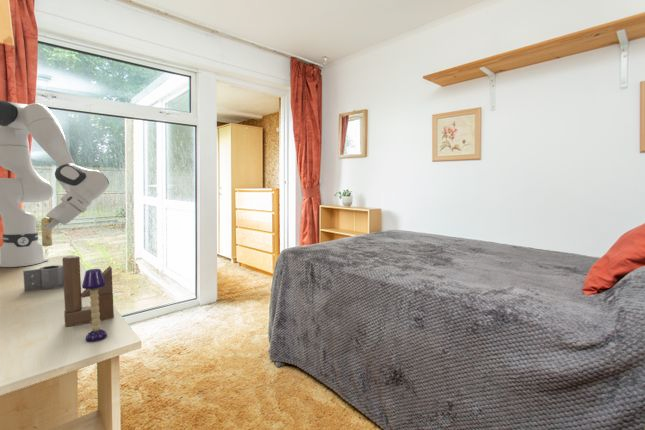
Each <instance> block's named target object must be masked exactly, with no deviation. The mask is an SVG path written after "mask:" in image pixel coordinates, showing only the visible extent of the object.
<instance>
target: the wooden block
mask: <svg viewBox="0 0 645 430" xmlns="http://www.w3.org/2000/svg"><path fill="white" fill-rule="evenodd" d="M80 260H81V258H80V256H79V255H67V256H64V257H62V266H63V280H64V286H63V292H64V293H63V294H64V312H63V313H64V327H72V326H73V327H74V326H78V325H83V324H88V323H92V322H91V321H92V318H91V313H92V312H91V305H88V306H83V303H82V301H83V300H82V299H83V298H90V294H91V293H90V289H84V290H83V292H82V282H81V279H82V278H81V261H80ZM112 270H113V268H112V267H111V265H108V267H106V269H104V271H102V274H103V277H104V279H105V282H106V285H105V286H103V287H99V288H98V294H99V297H98V300H99V304H98V305H99V313H100V317H99V318H100V321H104V320H110V319H114V312H115V309H114V293H113V292H114V290H113V271H112Z"/></svg>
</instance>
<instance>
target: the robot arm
mask: <svg viewBox="0 0 645 430" xmlns="http://www.w3.org/2000/svg"><path fill="white" fill-rule="evenodd" d="M29 135H30V136H31V138H33V140H34V141H35V142H36V143H37V145H39V147H40V148H41V149H43V151H44V152H46V154H47V155H49V157H50V158H51V159H52V160H53V162H54V163H55V164H56V165H57V168H56V169H55V170H54V171H55V172H54V177H55V179H56V181H57V183H59V185H60V186H61V187H62V188H63V190H65V192H66V193H65V194H64V195H63V196H62V197H61V198H59V199H60V201H61V202H60V203H58V204H57V205H56V206H54V207H53V208H52V209H51V210H50V211H49V212H47V214H46V215H45V217H48V218H50V219H51V222H50V223H49V224H48V225H46V226H45V227H44V229H45V230H47V231H49V230H50V229H53V228H54V227H56V226H58V225H59V224H61V225H67V224H69V223H70V222H71V221H73V220H74V219H76V218H77V217H78V216H79V215H81V214H83V213H84V212H86V211H87V209H88V208H89V206H90V205H92V203H93V201H94V200H96V199H98V198H100V197H101V195H103V193H104V192H105V191H106V190H107V189H108V188H109V186H110V181H109V179H108V177H106V175H105V174H104V173H103V172H102V171H100V170H98V169H88V168H85V167H82V166H79V165H77V164H76V163H75V161H74V159H73V158H72V155H71V153H70V150H69V147H68V143H67V140H66V136H65V133H64V131H63V128H62V126H61V124H60V122H59V121H58V119H57V118H56V116H55V115H54V113H52V111H51V110H50V109H49V108H48V107H47V106H46V105H44V104H41V103H36V102H34V103H30V104H26V103H18V102H12V101H8V100H1V99H0V167H2V168H3V169H5V170H7V171H11V172H12V174H14V176H15V178H13V177H0V217H1V222H2V227H3V228H2V229H3V233H2V237H1V238H2V242H3V244H2V245H1V246H0V268H17V267H24V266H25V267H26V266H32V265H38V264H40V263H44V262H48V261H50V260H49V258H48V257H45V254H44V253H45V252H44V246H42V243H41V242H40V241H38V240H39V234H38V233H39V232H37V219H36V216H35V214H34V213H32V212H30V211H28V210H24V209H22V208H21V206H20V203H21V204H22V203H40V202H45V201H49V200H50V199H51V198H52V197H53V194H54V187H53V185H52V184H51V183H50V182H49V181H48V180H46V179H45V178H43V177H42V176H41V175H40V174H39V173H38V172H37V171H36V168H35V167H34V165H33V162H32V158H31V149H30V143H29ZM40 227H41V226H40ZM41 229H42V227H41Z"/></svg>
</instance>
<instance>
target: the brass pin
mask: <svg viewBox="0 0 645 430" xmlns="http://www.w3.org/2000/svg"><path fill="white" fill-rule="evenodd" d="M50 222H51V219H50V218H48V217H47V216H44V217H42V219H41V221H40V223H41V226H40V227H42V228H41V242H42V243H41V244H42V246H43V247H50V246H53V230H52V229H53V228H52V229H50V230H49V231H47V230H45V229H44V227H45V226H46V225H48V224H49V223H50Z"/></svg>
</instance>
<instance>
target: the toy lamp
mask: <svg viewBox="0 0 645 430" xmlns="http://www.w3.org/2000/svg"><path fill="white" fill-rule="evenodd" d="M102 273H103V271H102V270H101V269H100V268H91V269H87V270H86V271H85V273H84V277H83V281H82V283H81V289H84V290H85V289H90V293H91V294H90V297H89V298H90V301H89V303H90V306H91V312H92V313H91V318H92V321H91V322H90V323H91V324H92V325H91V331H89V332H88V333H87V335H86V336H85V341H86V342H88V343H89V342H90V343H92V342H93V343H94V342H98V341H101V340H104V339H105V338H107V336H108V334H107V332H106V331H105V330H104V329H101V328H102V327H101V324H100V323H101V320H100V318H99V317H100V313H99V305H98V304H99V300H98V297H99V294H98V288H99V287H103V286H105V285H106V282H105V279H104V277H103V274H102Z"/></svg>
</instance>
